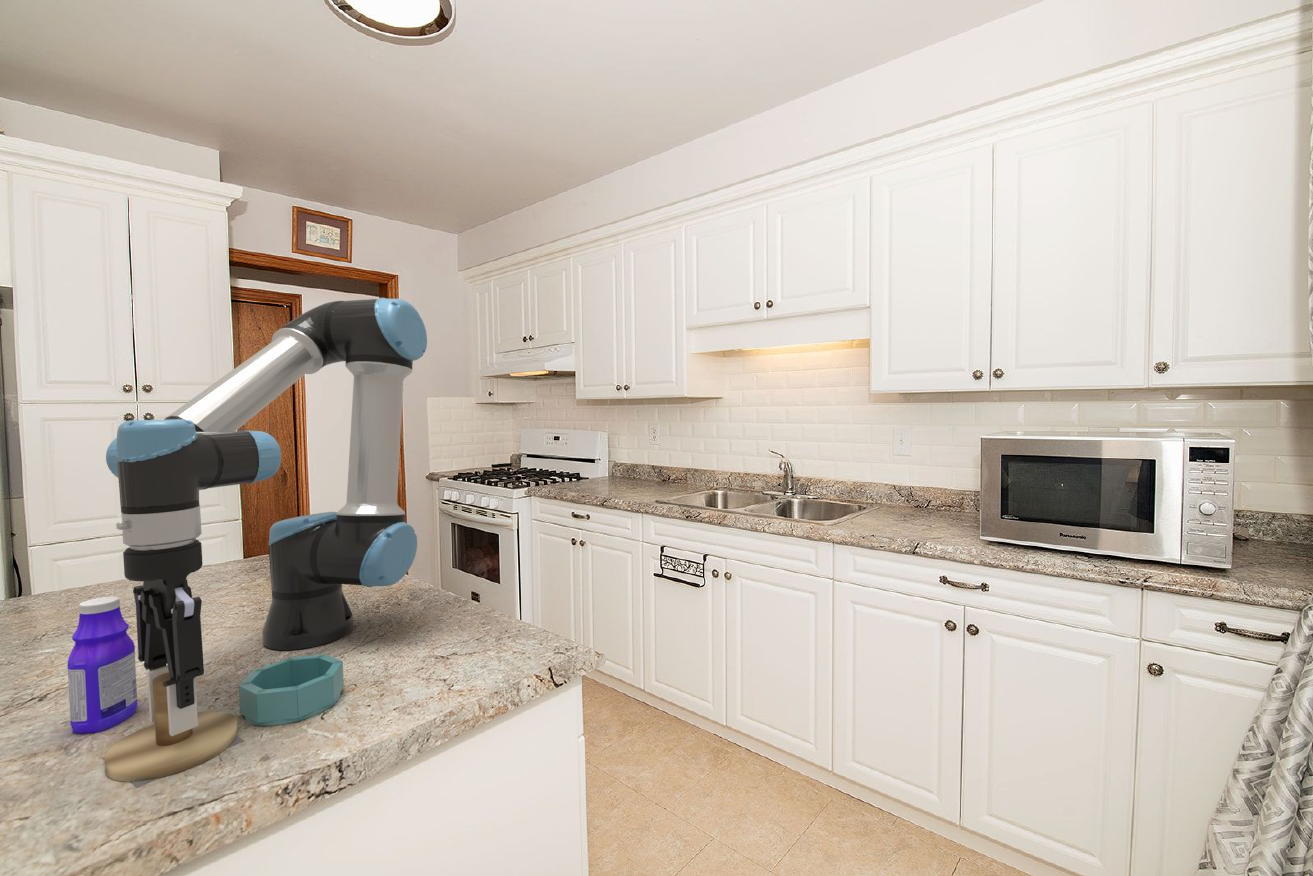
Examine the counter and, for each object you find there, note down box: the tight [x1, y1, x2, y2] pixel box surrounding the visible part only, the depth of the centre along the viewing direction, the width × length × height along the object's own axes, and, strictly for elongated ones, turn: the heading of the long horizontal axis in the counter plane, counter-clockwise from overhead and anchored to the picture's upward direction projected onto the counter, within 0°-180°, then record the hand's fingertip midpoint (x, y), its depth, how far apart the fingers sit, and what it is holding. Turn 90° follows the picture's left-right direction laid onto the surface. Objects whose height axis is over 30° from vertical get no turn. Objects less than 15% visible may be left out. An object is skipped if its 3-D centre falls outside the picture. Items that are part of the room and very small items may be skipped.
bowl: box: [238, 653, 345, 727], centre depth 86 cm, size 12×12×5 cm
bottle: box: [67, 596, 138, 734], centre depth 82 cm, size 7×6×17 cm
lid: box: [104, 672, 239, 783], centre depth 75 cm, size 13×13×10 cm
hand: (173, 723), depth 75 cm, fingers open, 5 cm apart
